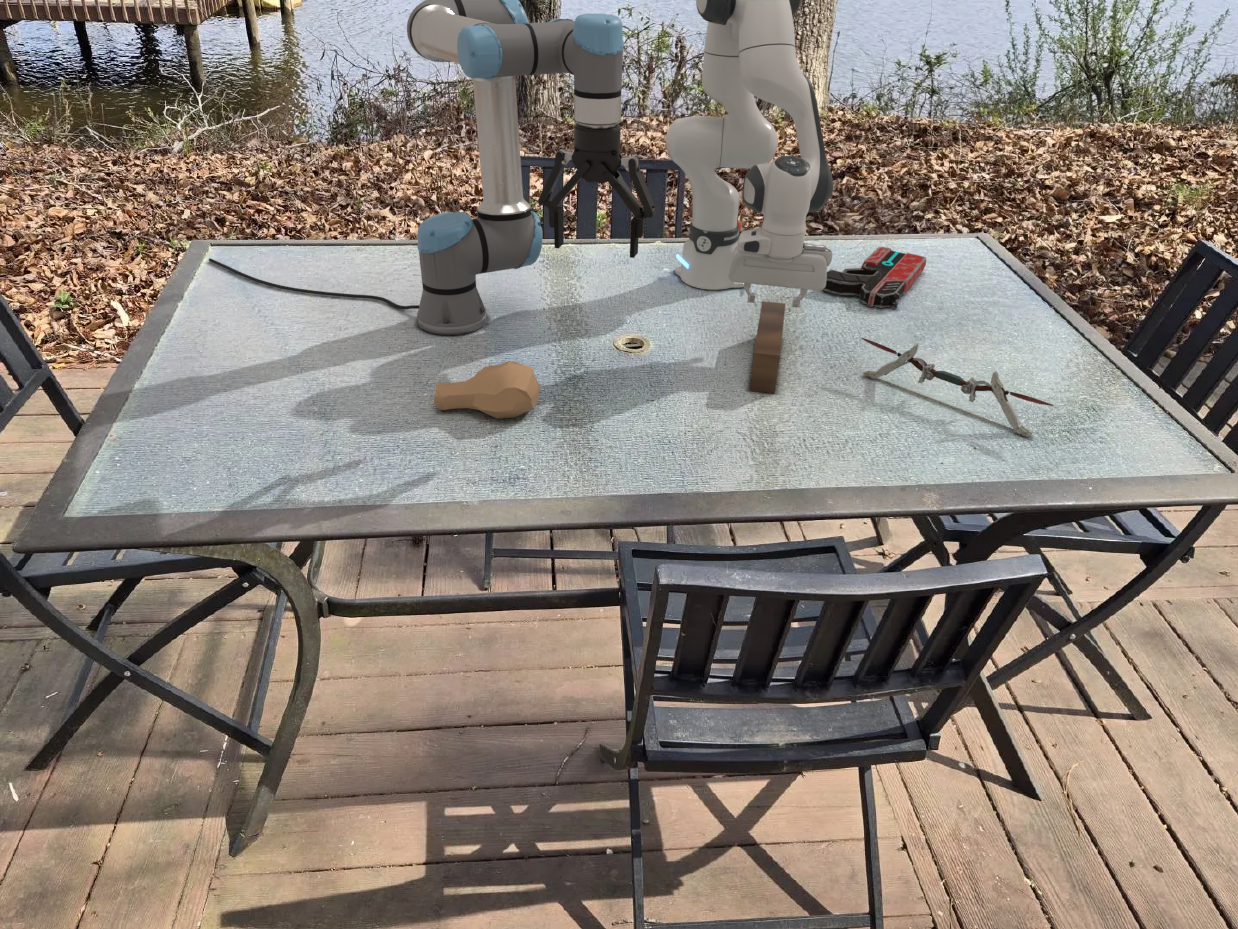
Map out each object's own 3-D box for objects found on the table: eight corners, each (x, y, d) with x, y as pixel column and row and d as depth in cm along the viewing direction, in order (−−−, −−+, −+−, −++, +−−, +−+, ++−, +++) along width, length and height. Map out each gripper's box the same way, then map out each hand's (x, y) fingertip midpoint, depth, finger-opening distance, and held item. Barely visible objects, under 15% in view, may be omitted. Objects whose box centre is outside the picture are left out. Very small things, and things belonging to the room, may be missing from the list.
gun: (818, 277, 212) (896, 296, 205) (859, 239, 234) (931, 255, 227) (815, 294, 215) (892, 314, 207) (855, 255, 237) (927, 271, 229)
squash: (542, 425, 161) (533, 386, 155) (435, 433, 163) (423, 395, 156) (546, 387, 169) (538, 350, 163) (444, 396, 170) (432, 359, 164)
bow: (1043, 439, 161) (1060, 391, 155) (1040, 443, 160) (1056, 395, 154) (857, 369, 182) (866, 325, 177) (852, 372, 181) (861, 327, 175)
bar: (774, 393, 173) (780, 355, 168) (749, 390, 174) (753, 352, 169) (780, 338, 194) (785, 303, 189) (757, 336, 195) (762, 300, 190)
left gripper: (678, 124, 141) (670, 251, 153) (532, 111, 146) (536, 235, 158) (667, 134, 135) (660, 266, 147) (516, 120, 140) (521, 248, 152)
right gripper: (833, 240, 179) (823, 302, 187) (733, 231, 182) (727, 292, 190) (834, 252, 174) (822, 315, 182) (731, 242, 177) (724, 305, 185)
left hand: (596, 250), depth 153 cm, fingers open, 13 cm apart
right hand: (773, 303), depth 186 cm, fingers open, 8 cm apart
